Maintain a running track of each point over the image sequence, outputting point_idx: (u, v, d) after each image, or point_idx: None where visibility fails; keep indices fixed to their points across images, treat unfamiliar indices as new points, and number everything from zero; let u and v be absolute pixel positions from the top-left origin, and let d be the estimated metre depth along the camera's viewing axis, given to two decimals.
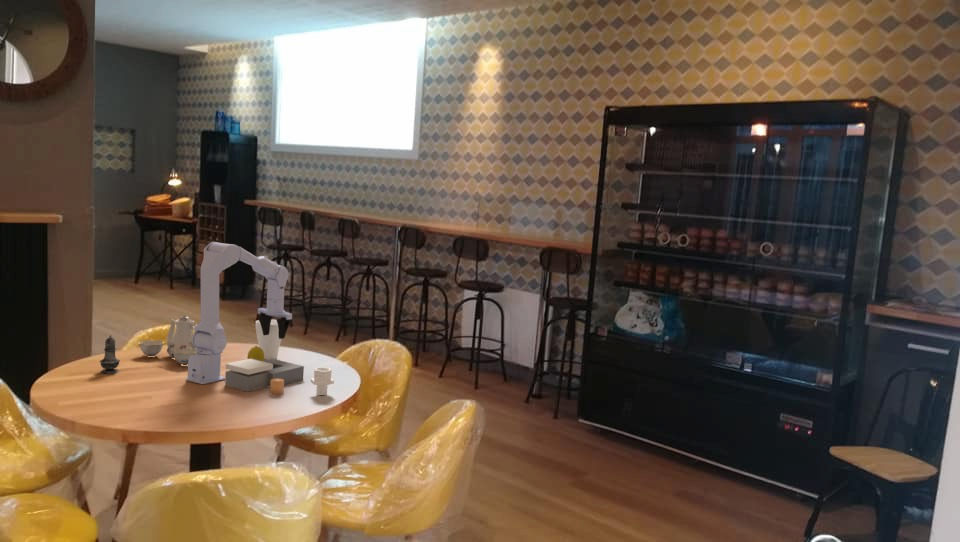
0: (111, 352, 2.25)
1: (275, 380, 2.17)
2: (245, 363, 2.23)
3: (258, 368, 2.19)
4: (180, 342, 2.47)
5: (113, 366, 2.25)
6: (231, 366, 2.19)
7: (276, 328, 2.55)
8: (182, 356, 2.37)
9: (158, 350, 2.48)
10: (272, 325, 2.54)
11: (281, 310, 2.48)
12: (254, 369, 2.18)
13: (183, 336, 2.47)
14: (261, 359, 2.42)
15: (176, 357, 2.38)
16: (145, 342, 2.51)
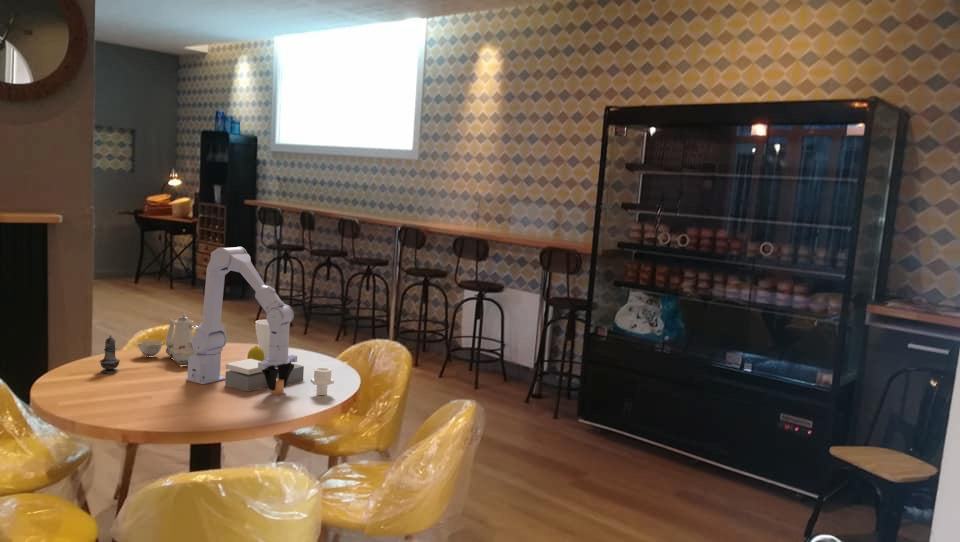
0: (111, 352, 2.25)
1: None
2: (245, 363, 2.23)
3: None
4: (179, 342, 2.46)
5: (113, 366, 2.25)
6: (231, 366, 2.19)
7: None
8: (181, 356, 2.37)
9: (157, 350, 2.47)
10: None
11: (272, 358, 2.14)
12: (254, 369, 2.18)
13: (181, 336, 2.47)
14: (261, 359, 2.42)
15: (175, 357, 2.38)
16: (144, 342, 2.51)
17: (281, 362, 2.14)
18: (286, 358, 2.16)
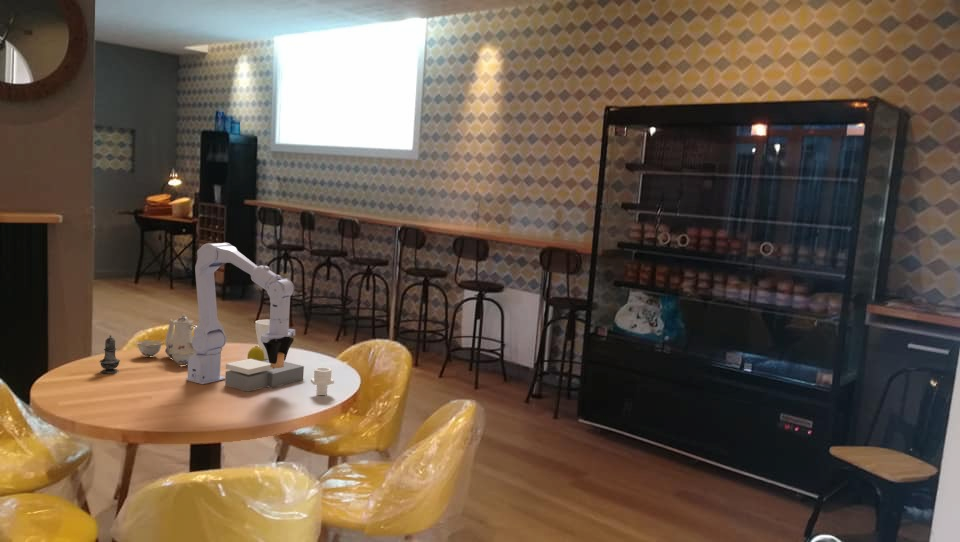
0: (111, 352, 2.25)
1: None
2: (245, 363, 2.23)
3: (258, 368, 2.19)
4: (178, 342, 2.46)
5: (113, 366, 2.25)
6: (231, 366, 2.19)
7: None
8: (180, 356, 2.37)
9: (156, 350, 2.47)
10: None
11: (273, 332, 2.15)
12: (254, 369, 2.18)
13: (181, 336, 2.47)
14: (261, 359, 2.42)
15: (174, 357, 2.37)
16: (144, 342, 2.50)
17: (283, 335, 2.15)
18: (287, 331, 2.17)
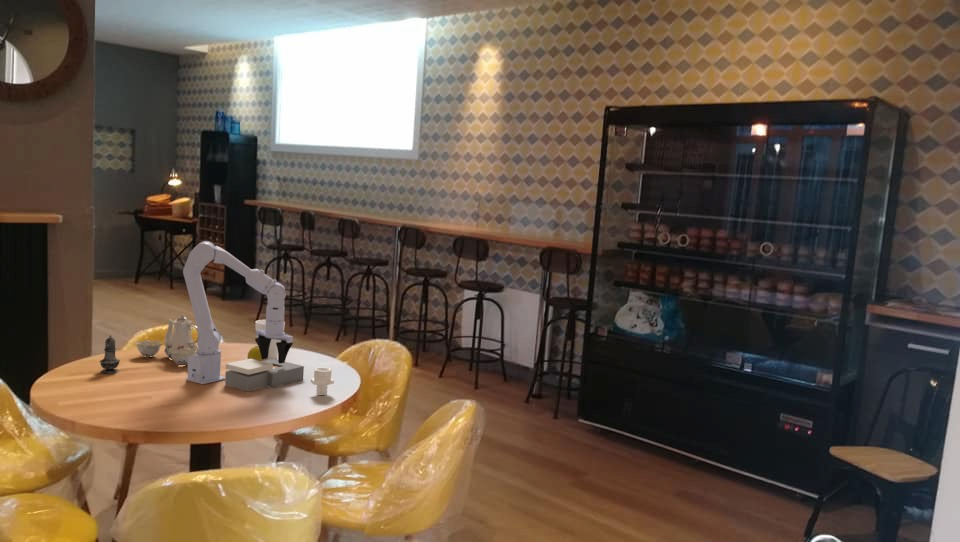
0: (111, 352, 2.25)
1: (273, 368, 2.31)
2: (245, 363, 2.23)
3: (258, 368, 2.19)
4: (178, 343, 2.46)
5: (113, 366, 2.25)
6: (231, 366, 2.19)
7: None
8: (179, 357, 2.36)
9: (156, 351, 2.47)
10: None
11: (281, 332, 2.29)
12: (254, 369, 2.18)
13: (180, 336, 2.46)
14: (261, 359, 2.42)
15: (173, 358, 2.37)
16: (143, 342, 2.50)
17: None
18: None
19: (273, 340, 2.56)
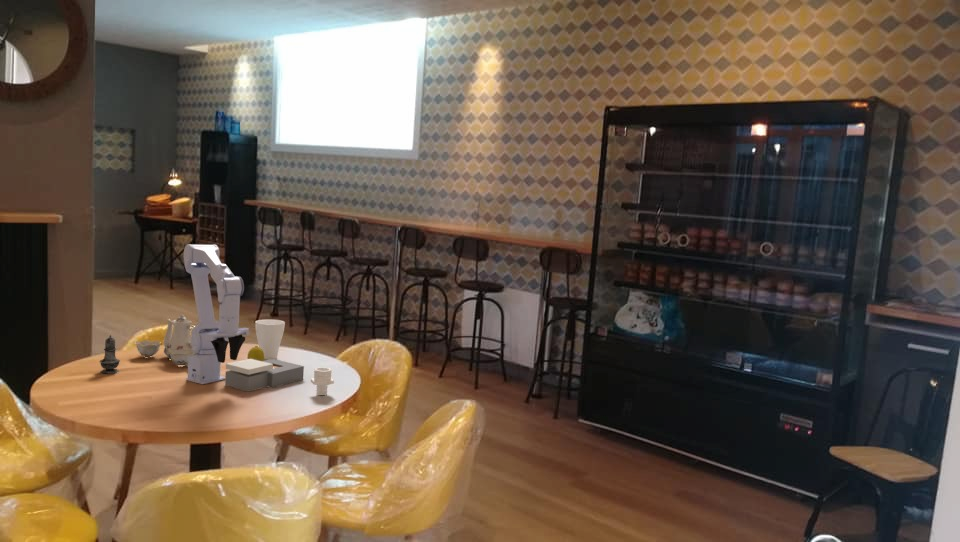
0: (111, 352, 2.25)
1: (273, 368, 2.31)
2: (245, 363, 2.23)
3: (258, 368, 2.19)
4: (177, 343, 2.46)
5: (113, 366, 2.25)
6: (231, 366, 2.19)
7: (276, 328, 2.55)
8: (178, 357, 2.36)
9: (155, 351, 2.47)
10: (272, 325, 2.54)
11: (221, 330, 2.11)
12: (254, 369, 2.18)
13: (179, 336, 2.46)
14: (261, 359, 2.42)
15: (172, 358, 2.37)
16: (142, 343, 2.50)
17: (231, 334, 2.11)
18: (236, 330, 2.13)
19: (273, 340, 2.56)
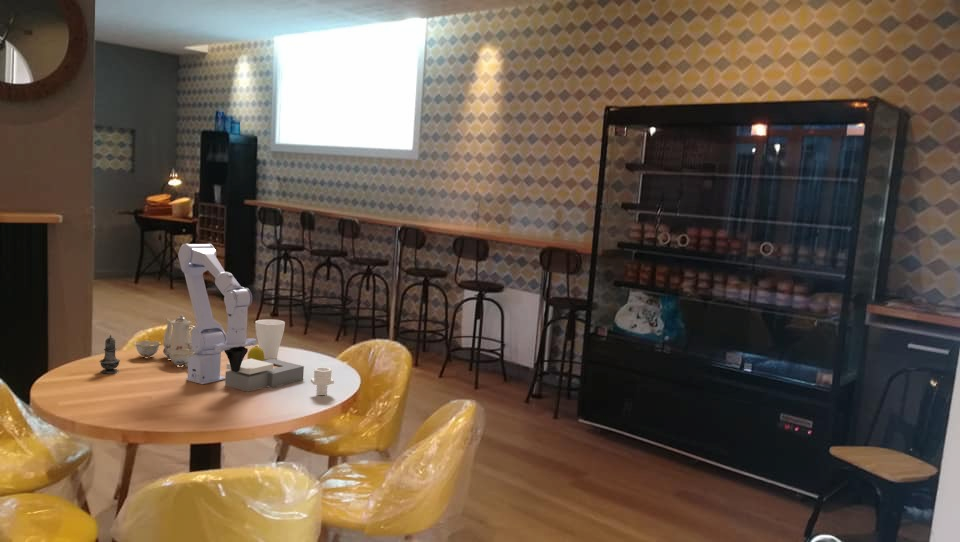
0: (111, 352, 2.25)
1: (273, 368, 2.31)
2: (246, 363, 2.23)
3: (259, 368, 2.19)
4: (176, 343, 2.45)
5: (113, 366, 2.25)
6: None
7: (276, 328, 2.55)
8: (178, 357, 2.36)
9: (154, 351, 2.46)
10: (272, 325, 2.54)
11: (229, 341, 2.14)
12: (255, 369, 2.18)
13: (179, 336, 2.46)
14: (261, 359, 2.42)
15: (172, 358, 2.36)
16: (141, 343, 2.50)
17: (239, 345, 2.14)
18: (244, 341, 2.16)
19: (273, 340, 2.56)
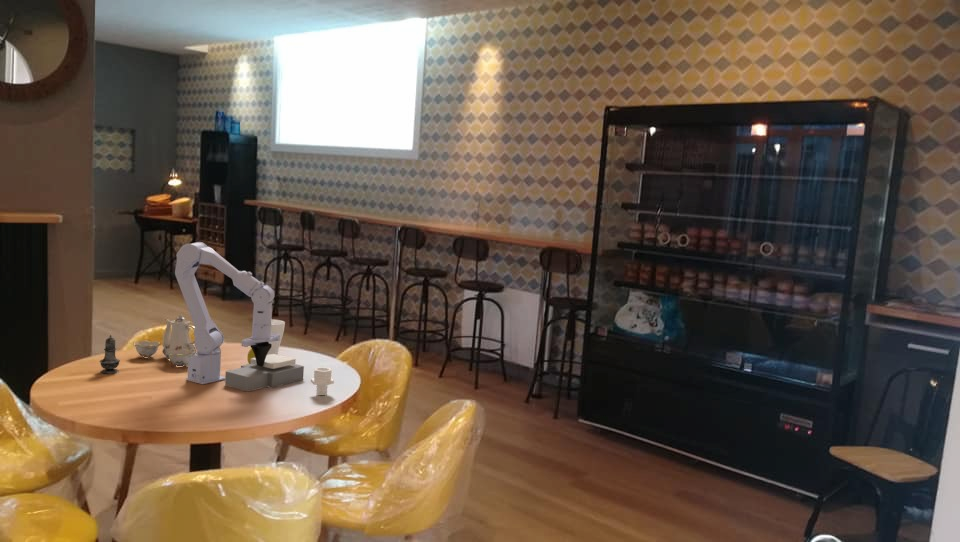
0: (111, 352, 2.25)
1: None
2: (269, 358, 2.32)
3: (282, 363, 2.28)
4: (175, 343, 2.45)
5: (113, 366, 2.25)
6: None
7: (276, 328, 2.55)
8: (177, 357, 2.35)
9: (154, 351, 2.46)
10: (272, 325, 2.54)
11: (255, 337, 2.23)
12: (278, 363, 2.27)
13: (178, 337, 2.45)
14: None
15: (171, 358, 2.36)
16: (141, 343, 2.49)
17: (264, 340, 2.23)
18: (269, 336, 2.25)
19: None
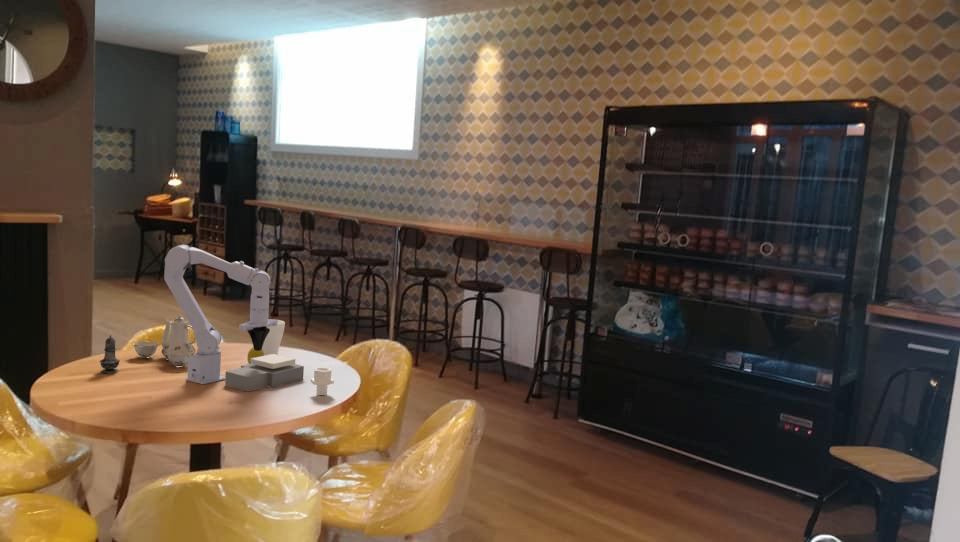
0: (111, 352, 2.25)
1: None
2: (269, 358, 2.31)
3: (281, 363, 2.28)
4: (174, 343, 2.45)
5: (113, 366, 2.25)
6: (256, 361, 2.28)
7: (276, 328, 2.55)
8: (176, 357, 2.35)
9: (153, 351, 2.46)
10: None
11: (253, 321, 2.25)
12: (278, 364, 2.27)
13: (177, 337, 2.45)
14: None
15: (170, 358, 2.36)
16: (140, 343, 2.49)
17: (261, 325, 2.25)
18: (266, 321, 2.27)
19: (273, 340, 2.56)
